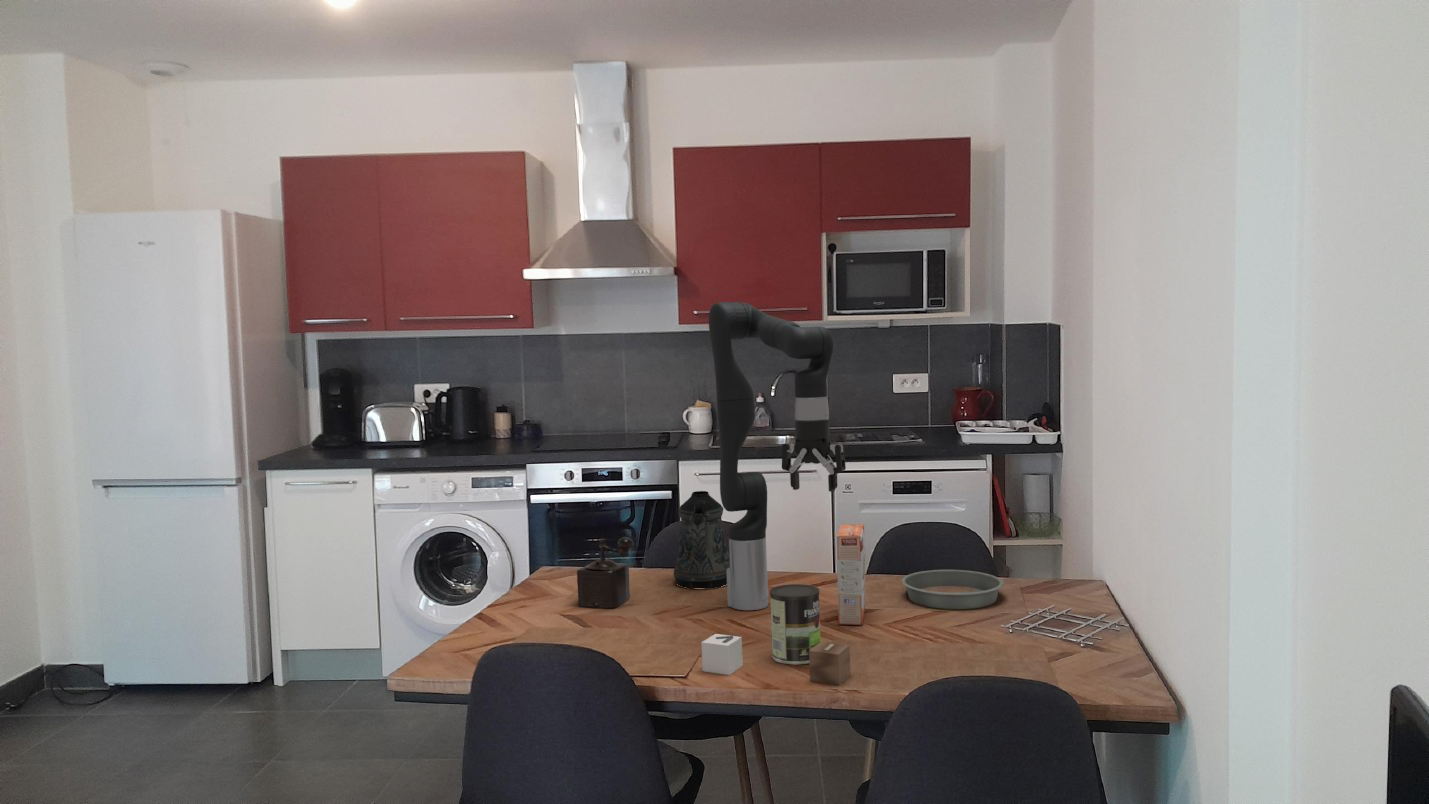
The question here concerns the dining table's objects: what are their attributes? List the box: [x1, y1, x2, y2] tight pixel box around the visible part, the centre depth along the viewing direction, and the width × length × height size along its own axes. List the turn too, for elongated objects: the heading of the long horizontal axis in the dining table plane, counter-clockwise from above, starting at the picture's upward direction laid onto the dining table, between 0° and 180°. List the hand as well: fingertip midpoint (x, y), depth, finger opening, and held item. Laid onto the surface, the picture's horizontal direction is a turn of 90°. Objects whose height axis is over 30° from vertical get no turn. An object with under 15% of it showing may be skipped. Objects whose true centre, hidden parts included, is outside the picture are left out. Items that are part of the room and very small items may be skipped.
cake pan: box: [901, 569, 1004, 610], centre depth 243 cm, size 25×25×4 cm
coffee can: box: [768, 583, 821, 666], centre depth 202 cm, size 10×10×14 cm
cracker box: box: [836, 523, 866, 626], centre depth 228 cm, size 14×6×21 cm, turn 168°
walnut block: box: [809, 641, 851, 685], centre depth 189 cm, size 6×6×6 cm
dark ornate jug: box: [672, 490, 730, 589], centre depth 265 cm, size 16×19×25 cm
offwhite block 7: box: [701, 633, 744, 676], centre depth 197 cm, size 6×6×6 cm
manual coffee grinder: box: [576, 536, 634, 609], centre depth 249 cm, size 16×11×18 cm
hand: (814, 490), depth 216 cm, fingers open, 8 cm apart
